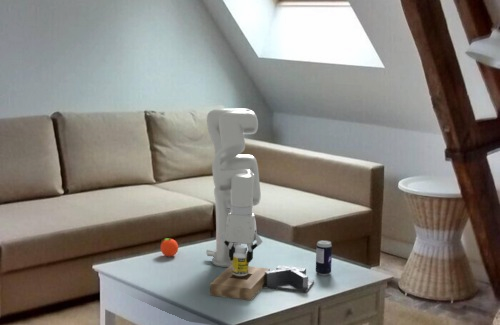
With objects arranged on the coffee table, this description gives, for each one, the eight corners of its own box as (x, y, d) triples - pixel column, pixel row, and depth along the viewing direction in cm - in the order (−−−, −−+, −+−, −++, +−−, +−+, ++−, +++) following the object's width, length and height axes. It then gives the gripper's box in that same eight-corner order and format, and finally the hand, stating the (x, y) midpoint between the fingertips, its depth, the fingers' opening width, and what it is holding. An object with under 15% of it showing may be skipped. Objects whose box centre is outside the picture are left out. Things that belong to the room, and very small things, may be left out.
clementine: (154, 256, 292) (154, 238, 291) (166, 251, 297) (166, 234, 296) (170, 259, 287) (170, 242, 286) (181, 255, 293) (181, 238, 292)
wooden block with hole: (210, 295, 250) (210, 283, 250) (231, 274, 271) (231, 264, 270) (250, 300, 246) (251, 288, 245) (269, 279, 267) (269, 268, 266)
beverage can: (330, 276, 271) (331, 245, 268) (314, 275, 272) (315, 243, 270) (331, 271, 276) (332, 240, 274) (316, 270, 277) (317, 239, 275)
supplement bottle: (237, 277, 255) (237, 249, 253) (230, 272, 259) (230, 245, 258) (251, 275, 257) (251, 248, 255) (243, 270, 262) (244, 243, 260)
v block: (261, 287, 258) (261, 273, 257) (270, 277, 269) (270, 264, 268) (306, 293, 254) (307, 279, 253) (313, 282, 264) (314, 269, 263)
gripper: (214, 210, 253) (213, 260, 256) (262, 215, 248) (261, 266, 251) (221, 204, 260) (221, 254, 263) (268, 209, 255) (267, 260, 258)
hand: (240, 259), depth 257 cm, fingers closed on supplement bottle, 5 cm apart
